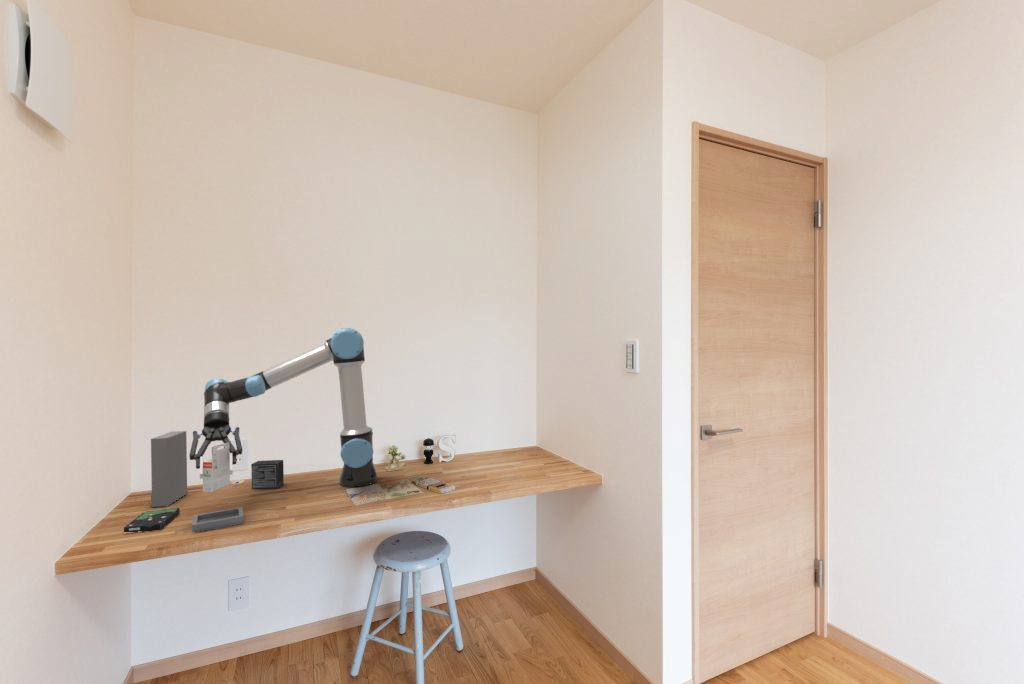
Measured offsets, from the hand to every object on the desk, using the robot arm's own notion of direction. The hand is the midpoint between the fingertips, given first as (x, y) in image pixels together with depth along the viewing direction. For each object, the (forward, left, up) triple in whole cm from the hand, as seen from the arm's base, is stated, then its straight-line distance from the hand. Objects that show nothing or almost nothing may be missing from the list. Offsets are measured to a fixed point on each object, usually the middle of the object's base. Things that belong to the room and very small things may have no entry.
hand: (216, 474), depth 150 cm
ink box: (0, -4, -6) cm, 7 cm away
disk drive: (+18, -15, -18) cm, 29 cm away
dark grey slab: (+16, -39, -17) cm, 46 cm away
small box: (-17, -37, -17) cm, 45 cm away
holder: (0, -3, -17) cm, 17 cm away
